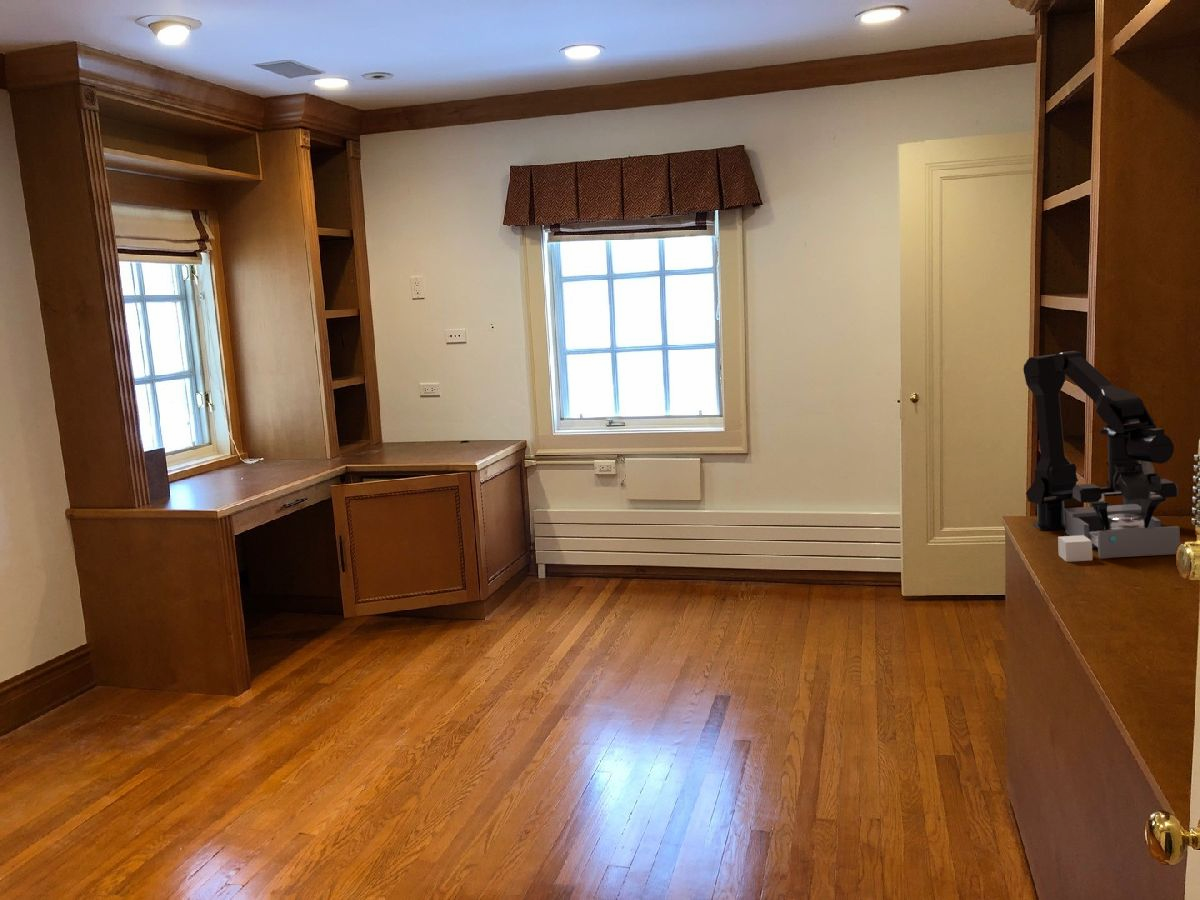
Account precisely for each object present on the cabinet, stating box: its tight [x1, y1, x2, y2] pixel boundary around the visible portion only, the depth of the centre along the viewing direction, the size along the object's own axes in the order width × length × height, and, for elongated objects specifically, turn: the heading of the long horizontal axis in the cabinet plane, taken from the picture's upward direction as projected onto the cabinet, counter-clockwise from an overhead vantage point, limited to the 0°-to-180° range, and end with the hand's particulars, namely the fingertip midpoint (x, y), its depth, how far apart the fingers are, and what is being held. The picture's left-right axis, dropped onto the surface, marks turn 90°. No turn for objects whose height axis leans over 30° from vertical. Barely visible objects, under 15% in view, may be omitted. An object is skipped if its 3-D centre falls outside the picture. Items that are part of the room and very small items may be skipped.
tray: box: [1089, 525, 1181, 559], centre depth 203 cm, size 14×15×6 cm
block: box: [1057, 535, 1093, 563], centre depth 201 cm, size 5×5×4 cm
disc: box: [1108, 514, 1145, 530], centre depth 203 cm, size 7×7×2 cm
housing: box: [1064, 504, 1162, 549], centre depth 212 cm, size 13×15×6 cm
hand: (1125, 531), depth 204 cm, fingers closed on disc, 7 cm apart
